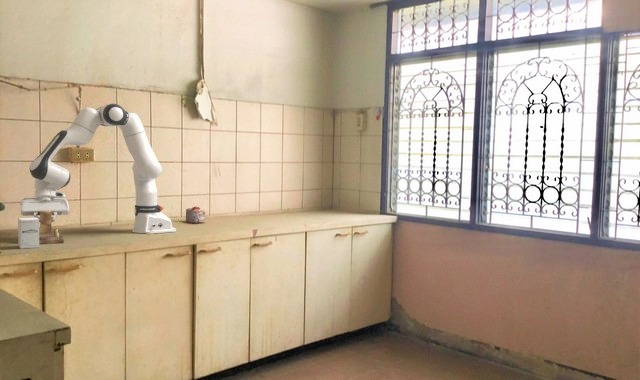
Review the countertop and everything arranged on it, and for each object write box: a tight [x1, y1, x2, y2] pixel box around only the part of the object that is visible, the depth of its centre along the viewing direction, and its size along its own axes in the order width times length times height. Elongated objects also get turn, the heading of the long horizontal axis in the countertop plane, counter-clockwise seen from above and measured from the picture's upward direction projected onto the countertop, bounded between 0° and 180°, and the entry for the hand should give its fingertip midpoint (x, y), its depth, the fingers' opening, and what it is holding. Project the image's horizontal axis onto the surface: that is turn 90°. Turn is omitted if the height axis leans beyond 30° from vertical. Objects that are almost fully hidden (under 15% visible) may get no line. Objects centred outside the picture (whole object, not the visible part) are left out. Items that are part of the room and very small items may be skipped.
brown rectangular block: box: [39, 211, 52, 235], centre depth 245 cm, size 4×7×10 cm, turn 29°
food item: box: [185, 206, 206, 225], centre depth 320 cm, size 14×8×10 cm, turn 45°
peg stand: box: [39, 228, 65, 245], centre depth 246 cm, size 14×14×5 cm
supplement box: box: [17, 217, 40, 250], centre depth 232 cm, size 7×7×13 cm
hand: (45, 221), depth 245 cm, fingers closed on brown rectangular block, 4 cm apart
